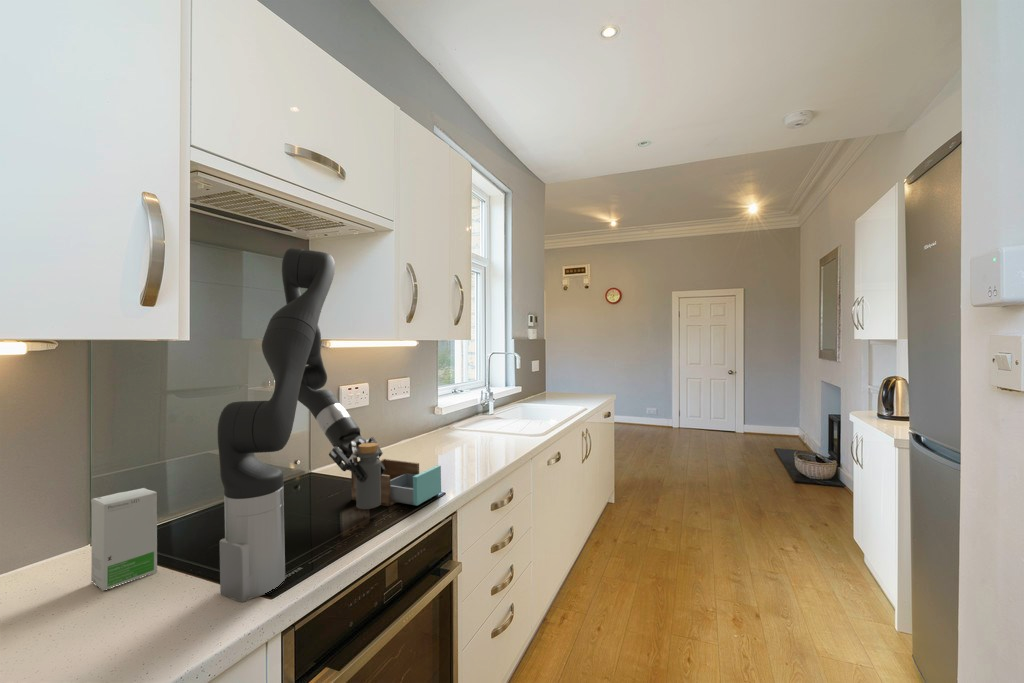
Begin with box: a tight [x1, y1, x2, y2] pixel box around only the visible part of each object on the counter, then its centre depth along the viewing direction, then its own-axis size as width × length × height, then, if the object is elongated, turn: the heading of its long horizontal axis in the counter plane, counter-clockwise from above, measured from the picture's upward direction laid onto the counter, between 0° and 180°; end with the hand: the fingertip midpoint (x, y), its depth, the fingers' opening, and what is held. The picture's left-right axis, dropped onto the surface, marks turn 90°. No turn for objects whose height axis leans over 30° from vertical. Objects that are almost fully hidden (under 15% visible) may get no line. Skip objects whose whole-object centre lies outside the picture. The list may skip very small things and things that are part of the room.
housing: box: [350, 458, 420, 507], centre depth 125 cm, size 13×13×8 cm
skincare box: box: [90, 487, 158, 591], centre depth 83 cm, size 8×7×16 cm
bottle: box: [355, 442, 381, 510], centre depth 109 cm, size 6×6×15 cm
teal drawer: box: [390, 465, 442, 506], centre depth 121 cm, size 11×12×7 cm
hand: (373, 476), depth 108 cm, fingers closed on bottle, 5 cm apart
